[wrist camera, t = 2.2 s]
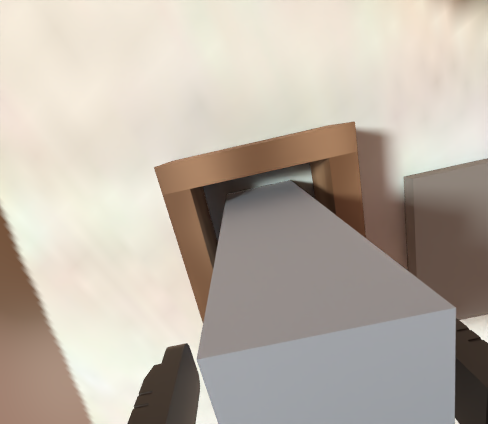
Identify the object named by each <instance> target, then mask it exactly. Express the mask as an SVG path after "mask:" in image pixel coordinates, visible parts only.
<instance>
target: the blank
mask: <svg viewBox="0 0 488 424" xmlns="http://www.w3.org/2000/svg"><path fill="white" fill-rule="evenodd" d="M455 341H456V307H454V306H453V305H452V304H450V303H449V302H448V301H447V300H445V299H444V298H443V297H441V296H440V295H439V294H437V293H436V292H435V291H434V290H432V289H431V288H430V287H428V286H427V285H426V284H424V283H423V282H422V281H421V280H419V279H418V278H417V277H415V276H414V275H413V274H412V273H410V272H409V271H408V270H406V269H405V268H404V267H402V266H401V265H400V264H399V263H397V262H396V261H395V260H393V259H392V258H391V257H389V256H388V255H387V254H386V253H384V252H383V251H382V250H380V249H379V248H378V247H376V246H375V245H374V244H373V243H371V242H370V241H369V240H367V239H366V238H365V237H364V236H362V235H361V234H360V233H358V232H357V231H356V230H354V229H353V228H352V227H351V226H349V225H348V224H347V223H345V222H344V221H343V220H341V219H340V218H339V217H338V216H336V215H335V214H334V213H332V212H331V211H330V210H329V209H327V208H326V207H325V206H323V205H322V204H321V203H319V202H318V201H317V200H316V199H314V198H313V197H312V196H310V195H309V194H308V193H306V192H305V191H304V190H303V189H301V188H300V187H299V186H297V185H296V184H295V183H293V182H292V181H291V180H288V181H284V182H279V183H275V184H270V185H266V186H261V187H257V188H252V189H248V190H243V191H239V192H234V193H230V194H227V196H226V202H225V207H224V213H223V218H222V224H221V229H220V235H219V240H218V246H217V251H216V257H215V262H214V268H213V273H212V279H211V284H210V290H209V295H208V301H207V306H206V312H205V317H204V322H203V328H202V333H201V339H200V344H199V350H198V355H197V362H198V365H199V368H200V371H201V374H202V377H203V380H204V383H205V386H206V388H207V391H208V394H209V397H210V400H211V403H212V406H213V409H214V412H215V415H216V418H217V421H218V424H455Z"/></svg>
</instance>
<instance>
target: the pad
mask: <svg viewBox="0 0 488 424" xmlns="http://www.w3.org/2000/svg"><path fill="white" fill-rule="evenodd" d="M404 194H405V215H406V236H407V257H408V271H409V272H410V273H412V274H413V275H414V276H415V277H417V278H418V279H419V280H421V281H422V282H423V283H424V284H426V285H427V286H428V287H430V288H431V289H432V290H434V291H435V292H436V293H437V294H439V295H440V296H441V297H443V298H444V299H445V300H447V301H448V302H449V303H450V304H452V305H453V306H454V307H456V318H457V319H458V320H461V319H466V318H471V317H476V316H481V315H486V314H488V158H487V159H483V160H478V161H474V162H469V163H465V164H460V165H455V166H451V167H446V168H442V169H437V170H433V171H428V172H423V173H419V174H414V175H410V176H405V177H404Z"/></svg>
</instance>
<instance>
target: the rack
mask: <svg viewBox="0 0 488 424" xmlns="http://www.w3.org/2000/svg"><path fill="white" fill-rule="evenodd" d="M308 162H310V166H311V173H312V179H313V186H314V193H315V199H316V200H317V201H318V202H319V203H321V204H322V205H323V206H325V207H326V208H327V209H329V210H330V211H331V212H332V213H334V214H335V215H336V216H338V217H339V218H340V219H341V220H343V221H344V222H345V223H347V224H348V225H349V226H351V227H352V228H353V229H354V230H356V231H357V232H358V233H360V234H361V235H362V236H364V237H365V238H366V235H365V224H364V214H363V203H362V192H361V182H360V171H359V161H358V150H357V140H356V129H355V122H349V123H342V124H335V125H328V126H324V127H319V128H315V129H311V130H306V131H302V132H297V133H293V134H289V135H284V136H280V137H276V138H271V139H267V140H262V141H258V142H254V143H249V144H245V145H241V146H236V147H232V148H227V149H223V150H219V151H214V152H210V153H205V154H201V155H197V156H192V157H188V158H184V159H179V160H175V161H171V162H168V163H165V164H162V165H160V166H157V167H154V169H155V172H156V175H157V178H158V182H159V185H160V188H161V191H162V194H163V197H164V201H165V204H166V207H167V210H168V213H169V217H170V220H171V223H172V226H173V229H174V232H175V236H176V239H177V242H178V245H179V248H180V251H181V255H182V258H183V261H184V264H185V267H186V271H187V274H188V277H189V280H190V283H191V286H192V290H193V293H194V296H195V299H196V302H197V305H198V309H199V312H200V315H201V318H202V321H203V322H204V317H205V312H206V306H207V301H208V295H209V290H210V284H211V279H212V273H213V268H214V262H215V257H216V251H217V246H218V242H217V238H216V235H215V231H214V227H213V223H212V220H211V216H210V212H209V209H208V205H207V201H206V197H205V194H204V190H203V186H205V185H210V184H214V183H219V182H223V181H228V180H232V179H237V178H241V177H246V176H250V175H255V174H259V173H264V172H268V171H272V170H277V169H281V168H286V167H290V166H295V165H299V164H304V163H308Z"/></svg>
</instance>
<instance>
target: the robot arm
mask: <svg viewBox="0 0 488 424" xmlns="http://www.w3.org/2000/svg"><path fill="white" fill-rule="evenodd" d="M199 393H200V381H199V374H198V371H197V368H196V365H195V362H194V359H193V356H192V353H191V350H190V347H189V345H188V344H187V343H186V344H181V345H176V346H171V347H168V348H167V349H166V351H165V354H164V357H163V360H162V363H161V364H158V365H154V366H153V368H152V369H151V370H150V372H149V373H148V374H147V376H146V377H145V379H144V381H143V384H142V386H141V389H140V392H139V396H138V397H137V400H136V402H135V405H134V409H133V410H132V413H131V416H130V418H129V421H128V424H195V423H196V415H197V408H198V401H199ZM455 418H456V420H457V421H458V422H459V423H460V424H488V343H487V342H485V341H484V340H481V338H480V337H479V336H478V335H477V334H475V333H474V332H473V331H472V330H469V328H468V327H467V326H466V325H464V324H463V323H462V322H461V321H459V320H458V319H457V318H456V341H455Z"/></svg>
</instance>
